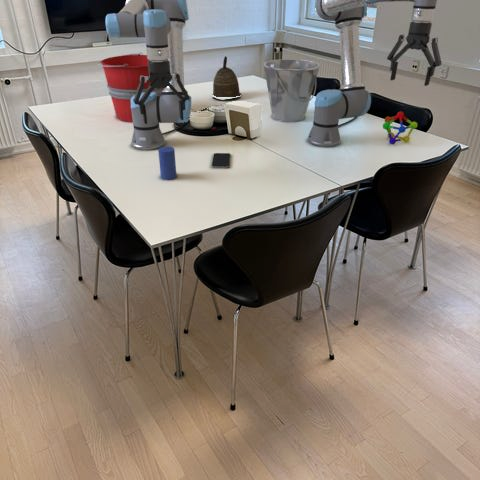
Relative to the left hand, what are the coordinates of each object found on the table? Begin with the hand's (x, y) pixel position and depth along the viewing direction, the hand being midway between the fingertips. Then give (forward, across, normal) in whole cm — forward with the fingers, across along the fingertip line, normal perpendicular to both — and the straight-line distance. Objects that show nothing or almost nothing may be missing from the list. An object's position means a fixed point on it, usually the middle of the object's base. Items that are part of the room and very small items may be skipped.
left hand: (163, 121), depth 164 cm
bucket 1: (+22, +5, +88) cm, 91 cm away
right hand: (-11, +93, -20) cm, 96 cm away
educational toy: (+22, +110, 0) cm, 113 cm away
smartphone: (+22, +25, +8) cm, 35 cm away
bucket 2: (+22, +82, +56) cm, 101 cm away
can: (+22, 0, 0) cm, 22 cm away
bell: (+22, +64, +108) cm, 128 cm away
